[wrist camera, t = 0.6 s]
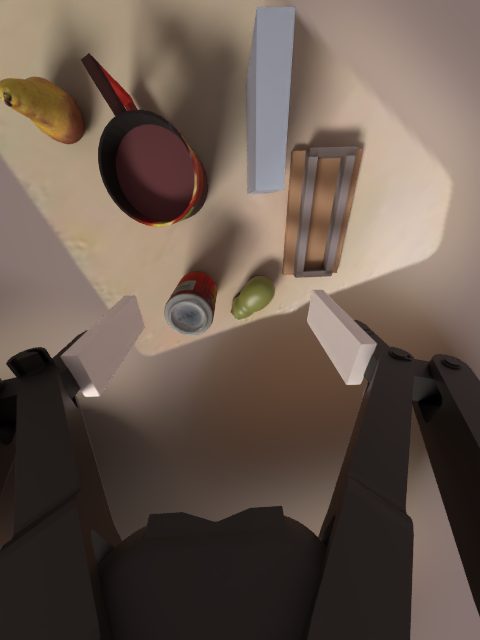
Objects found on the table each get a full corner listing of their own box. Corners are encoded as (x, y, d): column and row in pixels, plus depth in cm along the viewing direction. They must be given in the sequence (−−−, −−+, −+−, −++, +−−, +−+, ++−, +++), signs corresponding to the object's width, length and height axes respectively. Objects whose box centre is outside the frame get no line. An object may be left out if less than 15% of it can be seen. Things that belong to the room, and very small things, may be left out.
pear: (282, 297, 35) (245, 330, 40) (279, 283, 40) (246, 314, 45) (258, 278, 33) (222, 315, 38) (258, 265, 38) (225, 300, 43)
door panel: (246, 84, 26) (256, 7, 16) (269, 83, 26) (295, 6, 16) (247, 194, 32) (255, 190, 22) (266, 193, 32) (283, 189, 22)
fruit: (79, 87, 26) (-23, 9, 15) (100, 146, 29) (26, 114, 18) (36, 92, 26) (-95, 18, 15) (60, 150, 29) (-36, 121, 18)
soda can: (172, 280, 39) (151, 310, 28) (204, 261, 37) (194, 286, 27) (194, 309, 42) (183, 345, 31) (224, 293, 40) (222, 325, 30)
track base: (291, 152, 30) (297, 148, 27) (359, 150, 30) (370, 145, 28) (282, 273, 39) (285, 278, 36) (334, 271, 39) (341, 275, 37)
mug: (130, 97, 26) (66, 29, 16) (220, 175, 31) (215, 163, 20) (104, 170, 30) (38, 154, 20) (188, 231, 35) (170, 244, 24)
